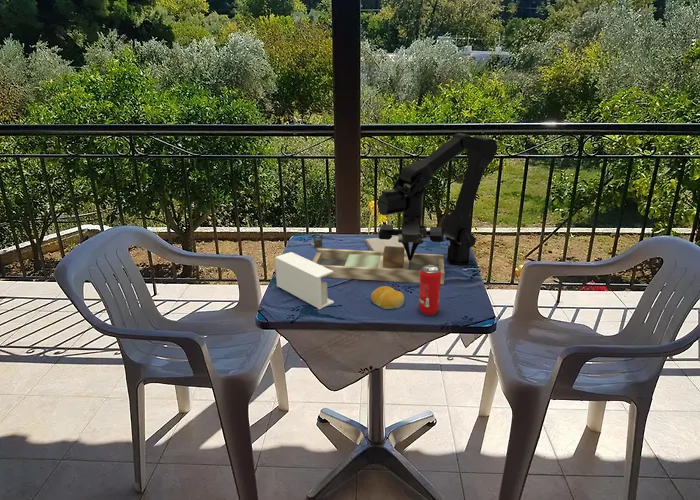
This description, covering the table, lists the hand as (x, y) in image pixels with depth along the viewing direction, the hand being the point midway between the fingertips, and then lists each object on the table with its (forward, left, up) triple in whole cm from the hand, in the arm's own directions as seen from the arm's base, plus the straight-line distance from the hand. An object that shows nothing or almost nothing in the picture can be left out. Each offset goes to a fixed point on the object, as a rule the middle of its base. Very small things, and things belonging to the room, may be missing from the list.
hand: (409, 260), depth 153 cm
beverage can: (-6, +24, -4) cm, 25 cm away
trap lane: (+10, 0, -4) cm, 11 cm away
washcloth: (+8, -17, -5) cm, 19 cm away
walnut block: (+5, 0, -2) cm, 5 cm away
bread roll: (+5, +20, -5) cm, 21 cm away
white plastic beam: (+29, +18, -5) cm, 34 cm away
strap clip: (+32, -17, -5) cm, 37 cm away
